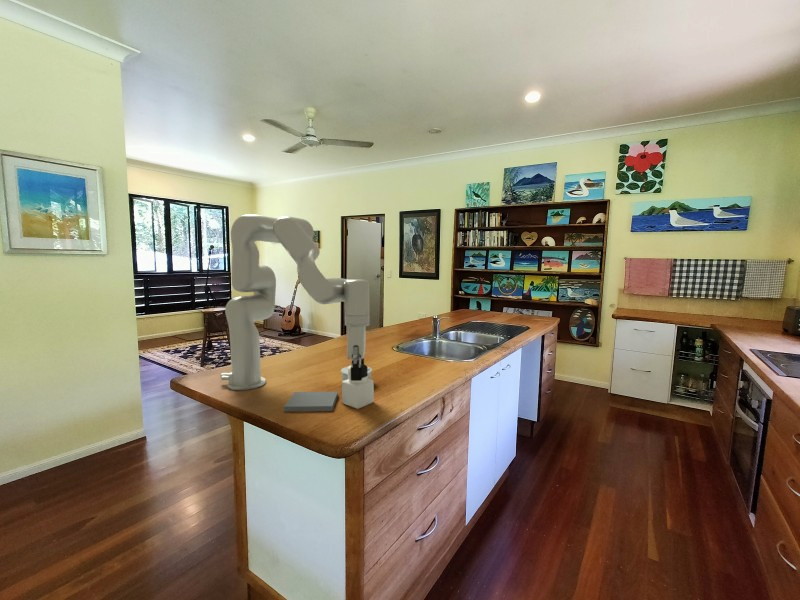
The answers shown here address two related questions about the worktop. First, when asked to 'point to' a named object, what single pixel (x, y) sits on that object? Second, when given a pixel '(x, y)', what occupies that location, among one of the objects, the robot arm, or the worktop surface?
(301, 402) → the rubber mat
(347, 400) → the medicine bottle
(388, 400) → the worktop surface
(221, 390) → the worktop surface
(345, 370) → the ramekin
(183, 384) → the worktop surface
